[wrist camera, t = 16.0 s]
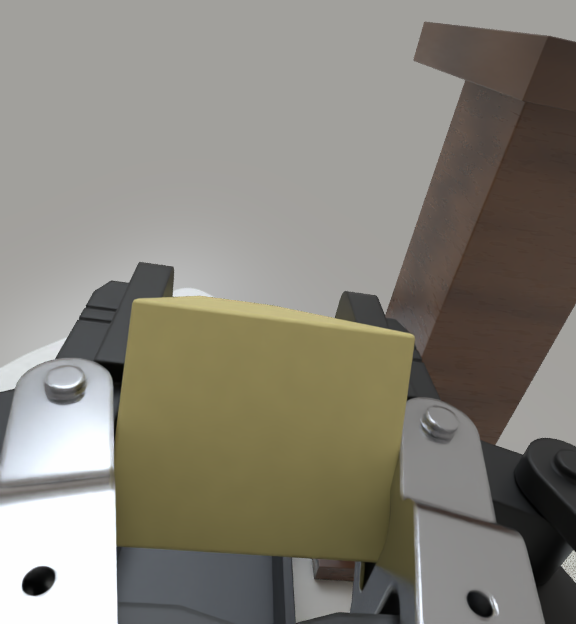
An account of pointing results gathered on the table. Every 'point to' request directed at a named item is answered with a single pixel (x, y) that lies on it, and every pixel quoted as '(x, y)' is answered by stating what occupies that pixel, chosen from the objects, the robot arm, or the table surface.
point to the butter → (257, 430)
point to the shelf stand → (492, 226)
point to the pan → (209, 583)
